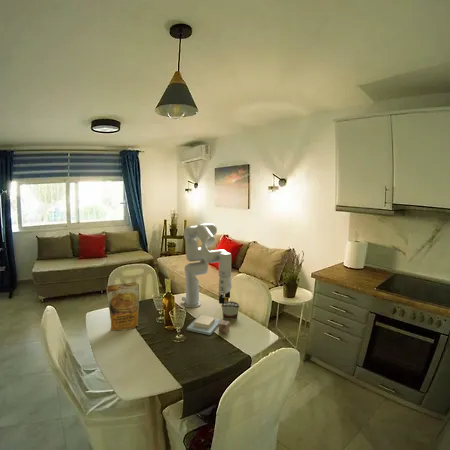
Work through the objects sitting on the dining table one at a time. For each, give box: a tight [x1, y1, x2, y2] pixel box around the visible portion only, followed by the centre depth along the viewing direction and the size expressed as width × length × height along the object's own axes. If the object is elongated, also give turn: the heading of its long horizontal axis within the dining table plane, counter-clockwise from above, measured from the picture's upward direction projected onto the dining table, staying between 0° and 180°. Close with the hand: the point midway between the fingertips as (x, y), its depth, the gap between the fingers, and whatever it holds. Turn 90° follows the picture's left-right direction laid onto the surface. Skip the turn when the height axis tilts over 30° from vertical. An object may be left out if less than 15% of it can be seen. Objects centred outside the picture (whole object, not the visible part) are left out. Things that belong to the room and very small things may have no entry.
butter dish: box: [186, 314, 222, 336], centre depth 182 cm, size 16×18×4 cm
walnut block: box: [218, 319, 230, 335], centre depth 175 cm, size 5×5×6 cm
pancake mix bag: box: [105, 282, 140, 331], centre depth 177 cm, size 7×19×28 cm, turn 110°
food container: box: [220, 300, 240, 320], centre depth 195 cm, size 12×6×10 cm, turn 84°
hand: (224, 300), depth 173 cm, fingers open, 9 cm apart
